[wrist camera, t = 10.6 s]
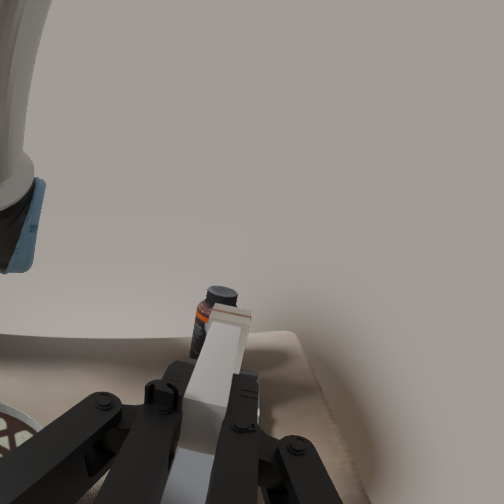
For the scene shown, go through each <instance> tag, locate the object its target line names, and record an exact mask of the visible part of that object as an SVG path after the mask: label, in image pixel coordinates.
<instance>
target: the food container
mask: <svg viewBox="0 0 504 504" xmlns="http://www.w3.org/2000/svg"><path fill="white" fill-rule="evenodd" d="M42 429H43V427H42V426H40V425H39V424H38V423H37V422H36V421H35V420H34V419H32V418H31V417H30V416H28V415H27V414H25V413H24V412H22V411H20V410H18V409H17V408H14V407H12V406H10V405H7V404H5V403H2V402H0V459H1V458H2V457H4V456H5V455H6V454H8V453H9V452H11V451H12V450H14V449H15V448H16V447H18V446H19V445H21V444H22V443H23V442H25V441H26V440H28V439H29V438H31V437H32V436H33V435H35V434H36V433H38V432H39V431H40V430H42Z"/></svg>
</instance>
